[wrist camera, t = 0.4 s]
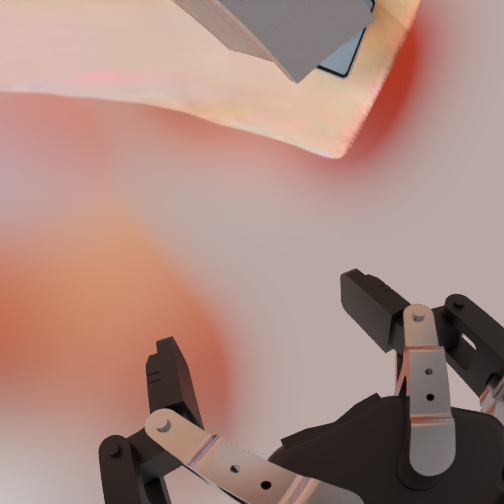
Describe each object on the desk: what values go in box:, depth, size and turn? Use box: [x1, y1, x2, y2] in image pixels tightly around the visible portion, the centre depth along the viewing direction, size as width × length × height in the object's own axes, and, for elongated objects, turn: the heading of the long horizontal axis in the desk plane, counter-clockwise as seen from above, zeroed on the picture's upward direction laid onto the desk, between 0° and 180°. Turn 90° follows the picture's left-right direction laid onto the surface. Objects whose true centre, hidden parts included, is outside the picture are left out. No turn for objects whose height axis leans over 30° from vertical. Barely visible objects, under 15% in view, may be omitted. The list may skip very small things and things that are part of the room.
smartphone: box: [315, 0, 376, 79], centre depth 31 cm, size 7×1×15 cm
